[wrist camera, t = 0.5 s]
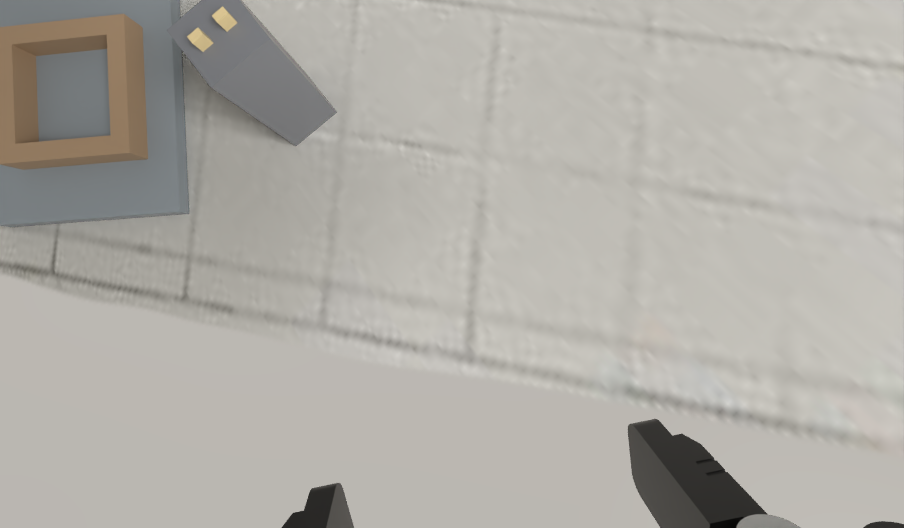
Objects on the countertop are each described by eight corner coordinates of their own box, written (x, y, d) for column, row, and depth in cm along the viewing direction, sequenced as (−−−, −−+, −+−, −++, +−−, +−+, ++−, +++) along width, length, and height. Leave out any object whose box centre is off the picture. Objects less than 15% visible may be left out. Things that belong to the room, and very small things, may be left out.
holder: (4, -1, 41) (-37, -24, 38) (178, -21, 40) (151, -46, 37) (11, 227, 40) (-30, 222, 37) (189, 213, 39) (162, 208, 36)
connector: (304, 71, 39) (214, -31, 26) (336, 112, 39) (261, 28, 26) (264, 105, 39) (154, 20, 26) (295, 146, 39) (200, 80, 26)
